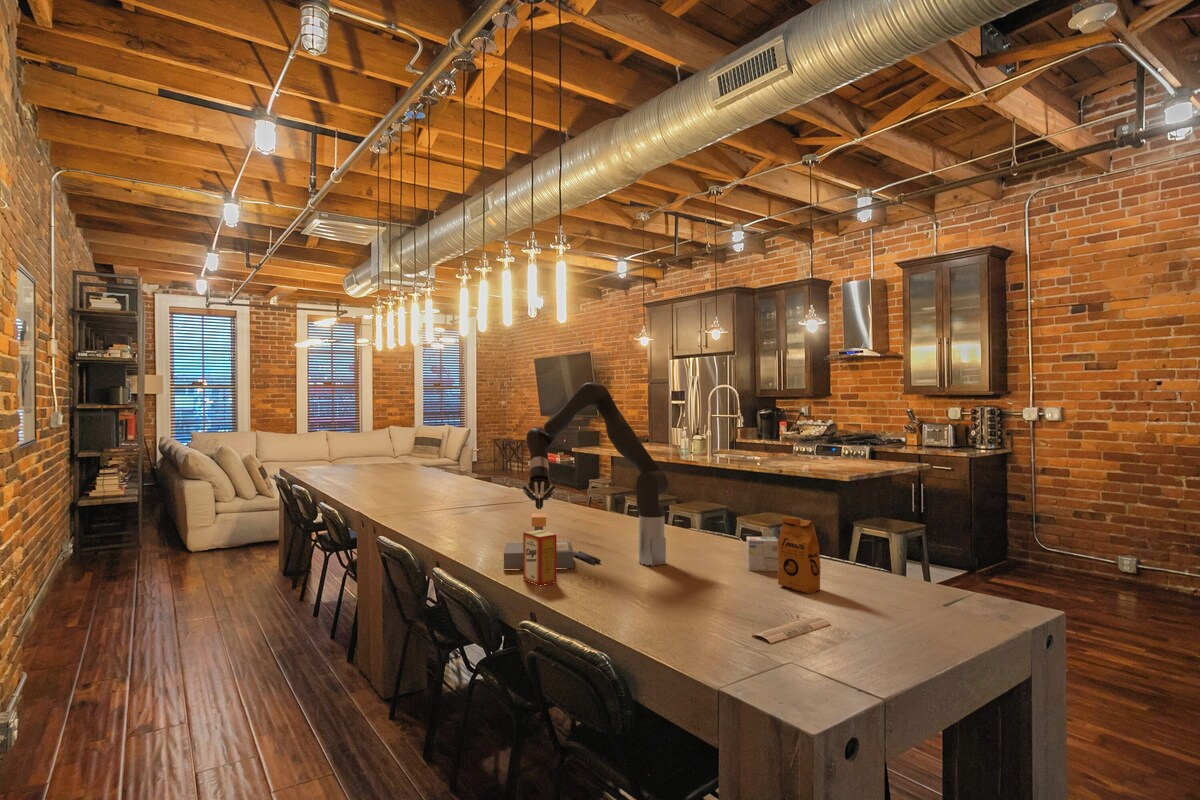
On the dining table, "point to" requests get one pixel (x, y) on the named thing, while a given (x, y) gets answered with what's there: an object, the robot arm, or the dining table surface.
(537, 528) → the breaker lever
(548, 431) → the robot arm
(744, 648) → the dining table surface
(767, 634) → the newspaper
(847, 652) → the dining table surface
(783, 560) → the coffee package
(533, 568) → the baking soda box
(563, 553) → the breaker block
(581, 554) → the dark grey ridged bar
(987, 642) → the dining table surface
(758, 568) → the light bulb box
